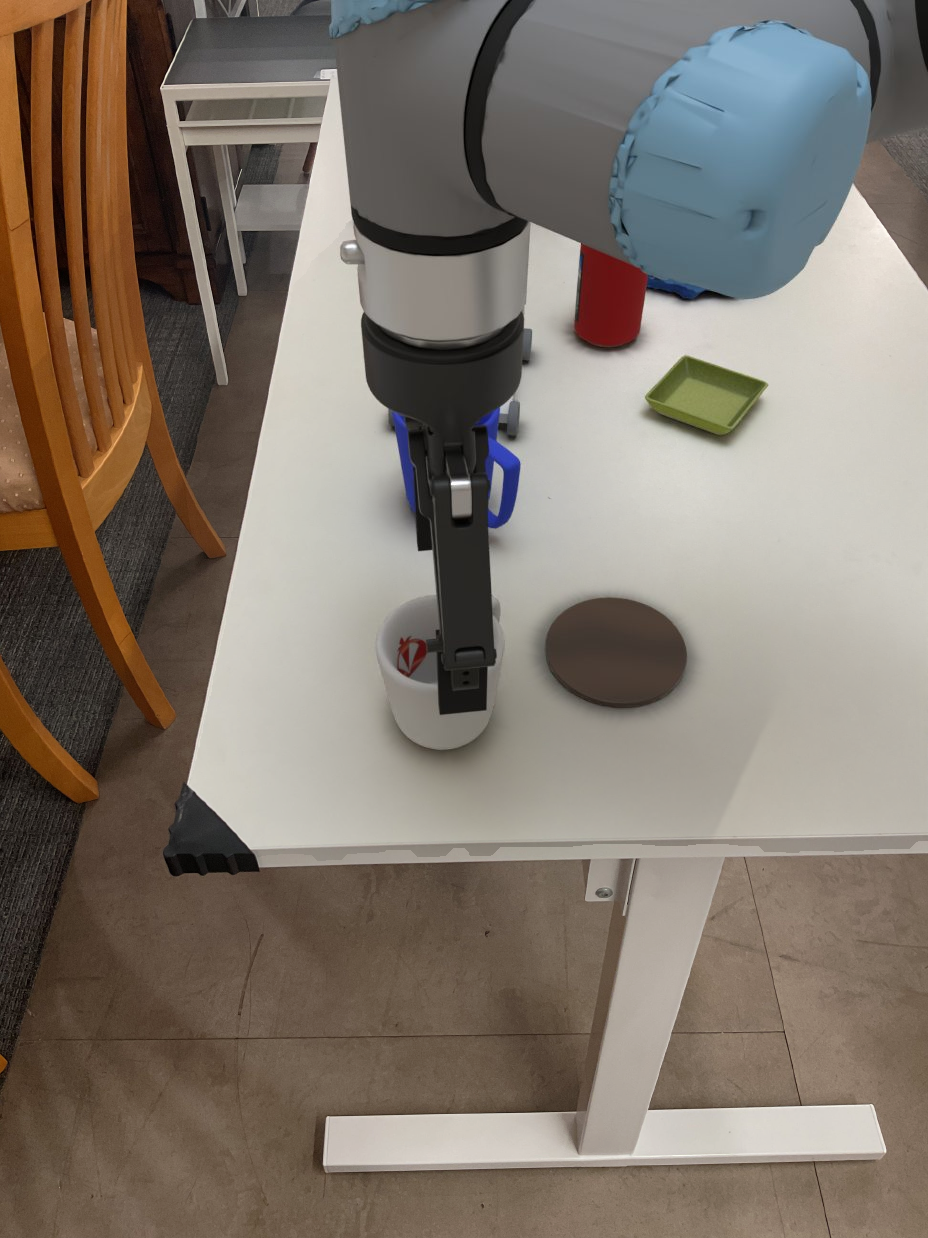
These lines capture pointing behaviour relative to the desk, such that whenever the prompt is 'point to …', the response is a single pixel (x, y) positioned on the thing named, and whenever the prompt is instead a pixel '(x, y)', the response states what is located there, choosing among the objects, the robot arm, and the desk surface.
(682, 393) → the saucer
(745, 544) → the desk surface
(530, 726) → the desk surface
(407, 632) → the cup
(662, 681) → the coaster
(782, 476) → the desk surface
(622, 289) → the beverage can
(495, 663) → the robot arm
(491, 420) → the mug
